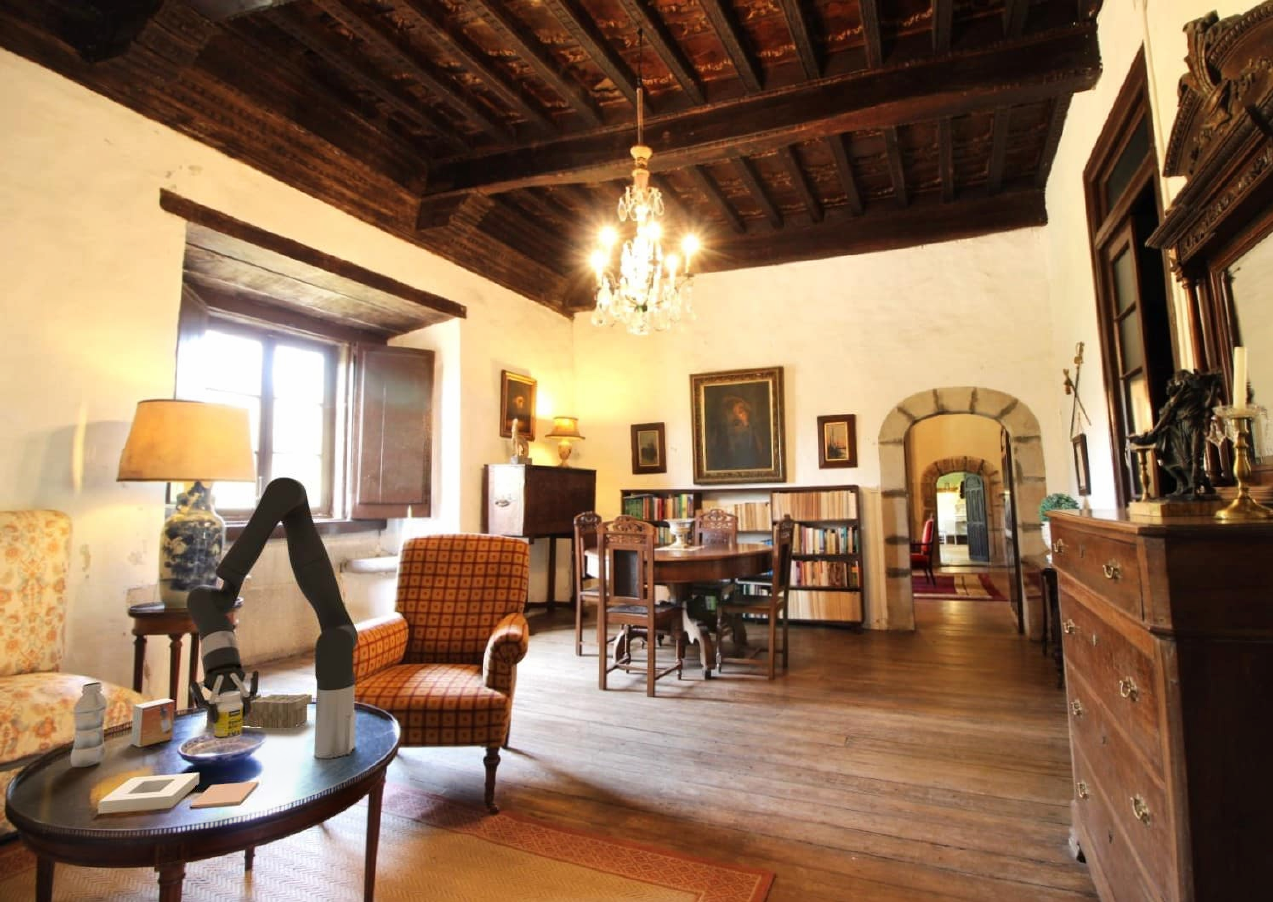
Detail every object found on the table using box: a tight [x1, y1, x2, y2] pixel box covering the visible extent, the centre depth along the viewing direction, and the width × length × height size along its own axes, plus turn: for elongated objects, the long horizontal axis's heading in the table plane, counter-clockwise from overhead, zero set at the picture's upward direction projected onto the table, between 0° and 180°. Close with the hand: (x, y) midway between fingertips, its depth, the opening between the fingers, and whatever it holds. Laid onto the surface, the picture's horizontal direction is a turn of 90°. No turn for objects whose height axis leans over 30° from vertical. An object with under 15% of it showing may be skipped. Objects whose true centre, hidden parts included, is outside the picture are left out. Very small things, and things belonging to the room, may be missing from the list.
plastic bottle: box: [69, 681, 108, 768], centre depth 160 cm, size 6×7×20 cm
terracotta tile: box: [189, 781, 259, 808], centre depth 143 cm, size 10×10×1 cm
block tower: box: [206, 693, 313, 729], centre depth 190 cm, size 8×8×29 cm
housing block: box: [97, 772, 200, 815], centre depth 142 cm, size 14×12×2 cm
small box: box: [130, 697, 176, 748], centre depth 176 cm, size 8×6×10 cm
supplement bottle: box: [213, 691, 243, 742], centre depth 144 cm, size 5×5×10 cm
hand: (231, 717), depth 143 cm, fingers closed on supplement bottle, 5 cm apart
